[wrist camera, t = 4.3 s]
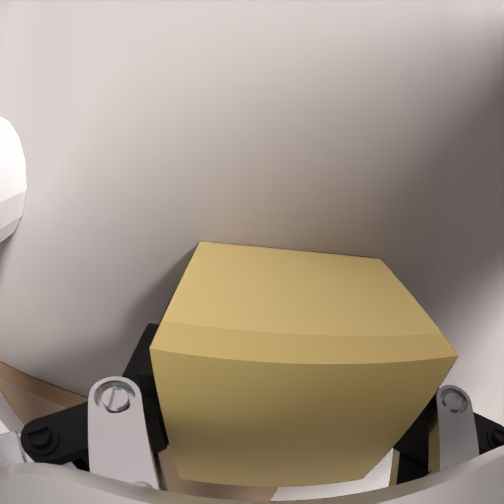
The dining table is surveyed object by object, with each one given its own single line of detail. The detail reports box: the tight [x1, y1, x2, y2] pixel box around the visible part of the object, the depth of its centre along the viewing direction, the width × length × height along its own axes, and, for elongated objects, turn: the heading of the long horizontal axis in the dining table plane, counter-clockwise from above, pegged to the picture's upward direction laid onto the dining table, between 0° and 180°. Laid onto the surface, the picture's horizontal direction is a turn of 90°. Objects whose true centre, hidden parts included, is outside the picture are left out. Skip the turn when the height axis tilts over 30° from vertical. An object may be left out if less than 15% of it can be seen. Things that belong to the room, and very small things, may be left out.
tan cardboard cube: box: [149, 241, 459, 487], centre depth 8 cm, size 6×6×5 cm
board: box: [0, 362, 278, 501], centre depth 15 cm, size 20×14×1 cm
